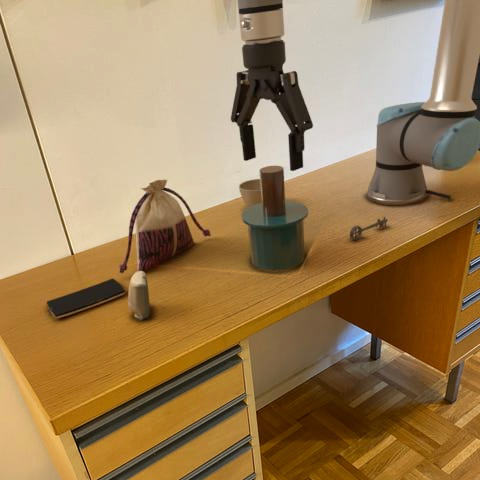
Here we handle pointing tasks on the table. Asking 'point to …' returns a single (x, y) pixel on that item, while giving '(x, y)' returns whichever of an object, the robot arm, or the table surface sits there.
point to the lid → (273, 203)
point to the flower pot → (251, 192)
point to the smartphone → (85, 298)
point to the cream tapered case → (139, 296)
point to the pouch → (159, 227)
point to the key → (380, 223)
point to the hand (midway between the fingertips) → (272, 163)
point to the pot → (277, 246)
